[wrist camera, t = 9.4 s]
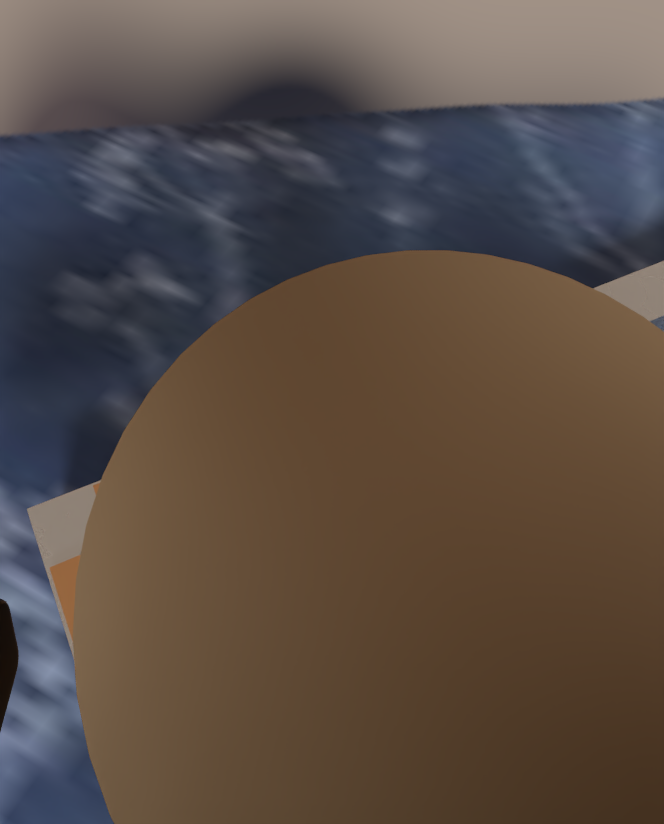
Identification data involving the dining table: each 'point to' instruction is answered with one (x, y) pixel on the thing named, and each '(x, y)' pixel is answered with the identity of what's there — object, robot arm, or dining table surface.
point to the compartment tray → (68, 514)
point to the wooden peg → (386, 559)
